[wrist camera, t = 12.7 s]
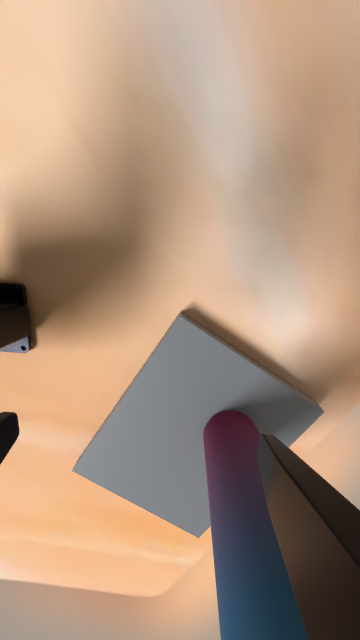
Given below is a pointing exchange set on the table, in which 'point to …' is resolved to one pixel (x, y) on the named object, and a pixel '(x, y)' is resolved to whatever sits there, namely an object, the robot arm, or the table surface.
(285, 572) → the cup
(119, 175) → the table surface
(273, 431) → the board
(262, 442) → the robot arm
